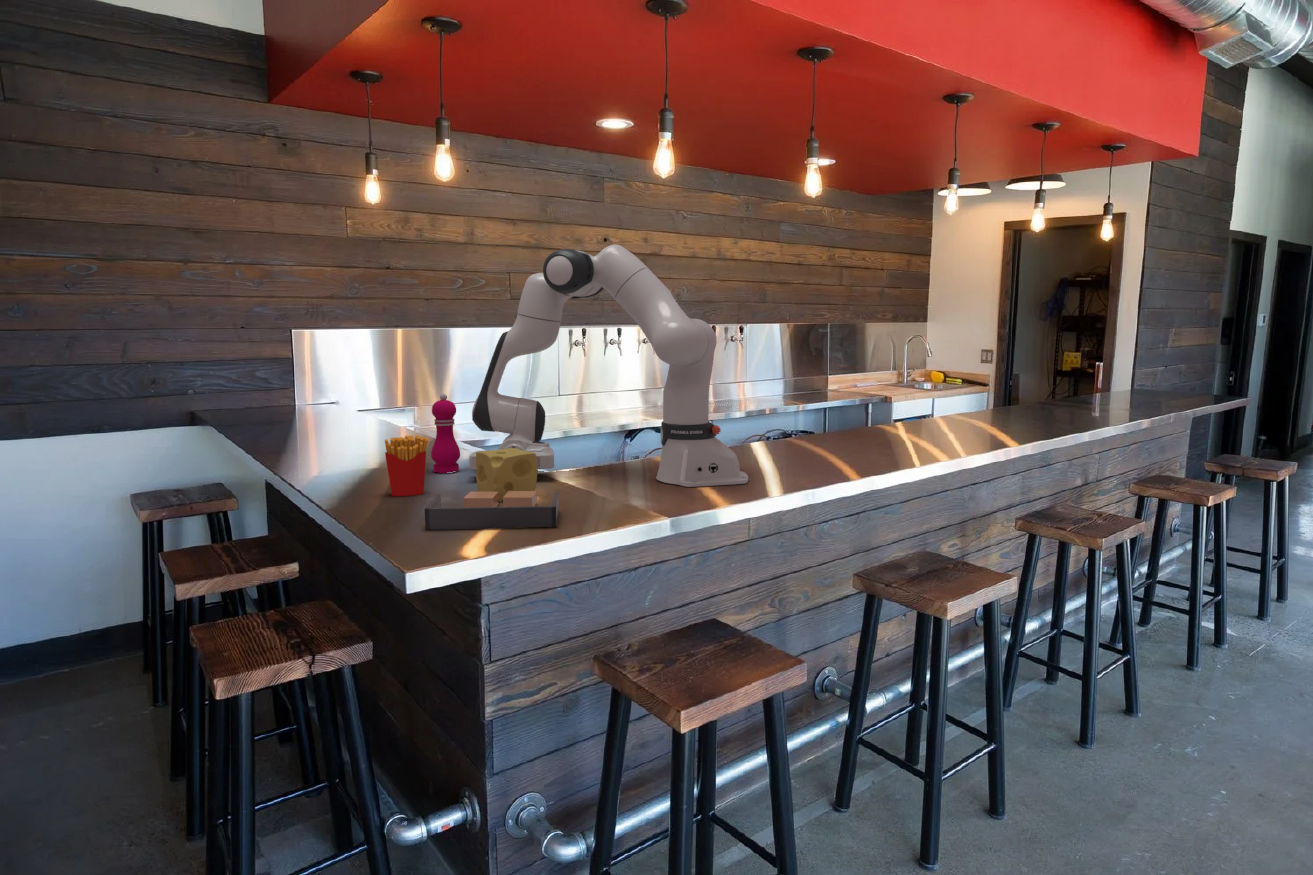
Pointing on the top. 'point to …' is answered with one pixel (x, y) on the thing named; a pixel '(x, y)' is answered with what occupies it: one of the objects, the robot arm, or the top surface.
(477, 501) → the tile
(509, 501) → the tile
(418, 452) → the french fries
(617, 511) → the top surface
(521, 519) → the box
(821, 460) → the top surface
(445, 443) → the pepper mill
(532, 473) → the cheese
